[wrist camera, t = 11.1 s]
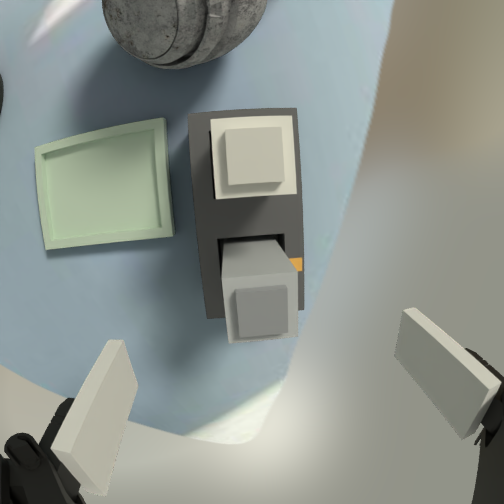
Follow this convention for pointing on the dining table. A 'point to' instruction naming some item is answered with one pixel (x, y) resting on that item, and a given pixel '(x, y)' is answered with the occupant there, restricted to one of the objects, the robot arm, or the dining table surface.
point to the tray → (105, 186)
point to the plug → (258, 290)
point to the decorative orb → (181, 28)
